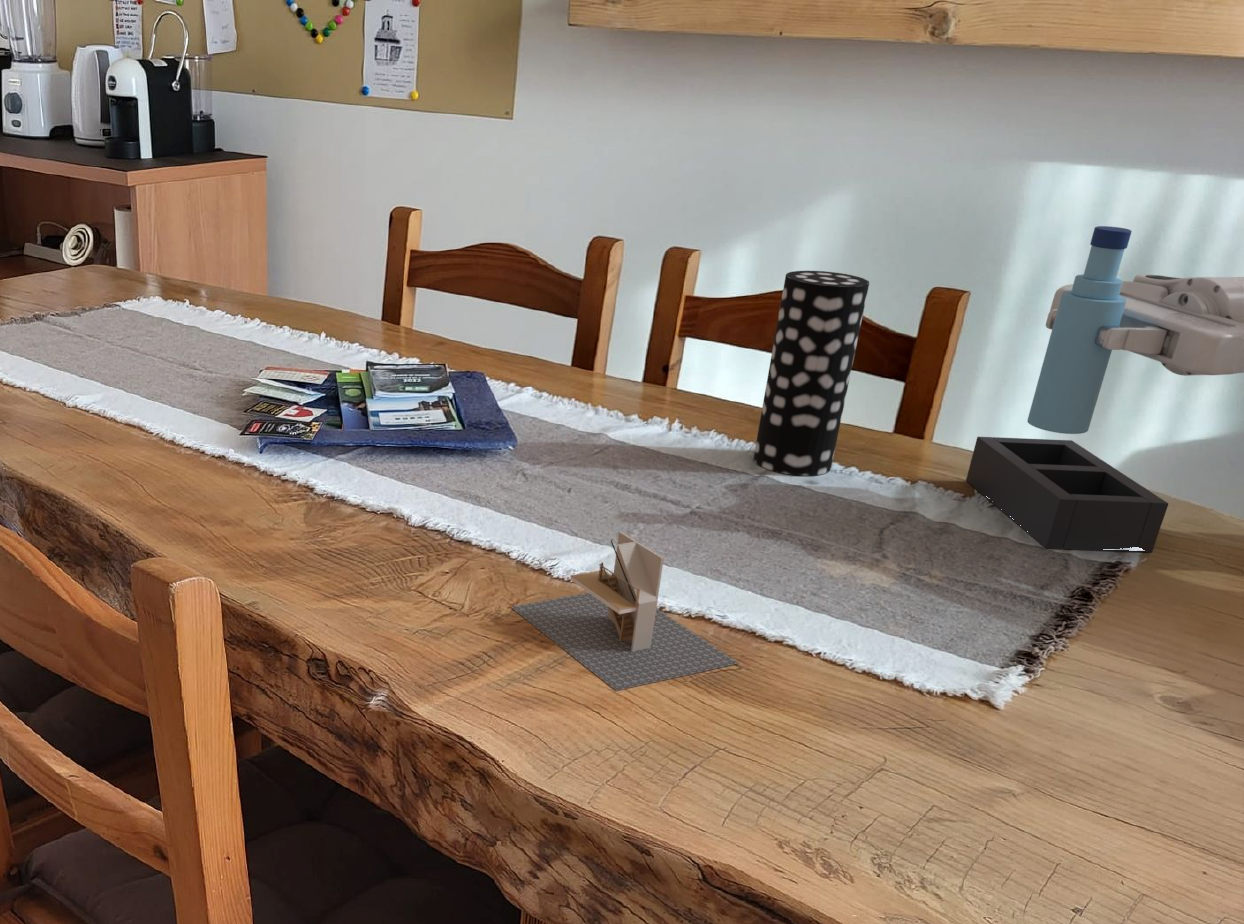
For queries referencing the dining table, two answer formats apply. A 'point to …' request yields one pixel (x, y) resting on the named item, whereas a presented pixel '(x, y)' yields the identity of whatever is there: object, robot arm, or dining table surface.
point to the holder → (1065, 494)
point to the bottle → (1081, 339)
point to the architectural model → (623, 624)
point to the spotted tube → (809, 371)
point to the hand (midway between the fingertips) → (1076, 328)
